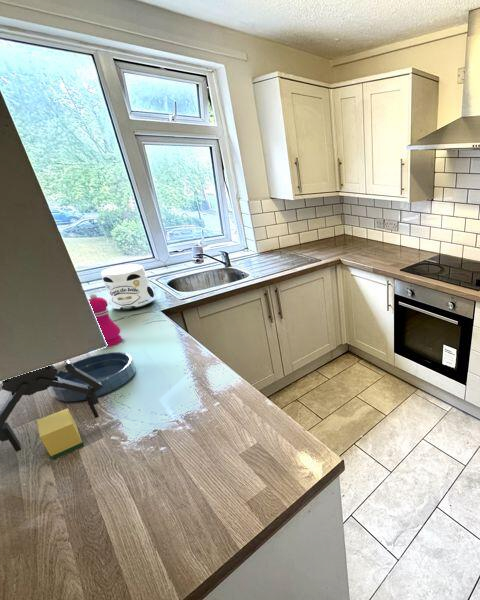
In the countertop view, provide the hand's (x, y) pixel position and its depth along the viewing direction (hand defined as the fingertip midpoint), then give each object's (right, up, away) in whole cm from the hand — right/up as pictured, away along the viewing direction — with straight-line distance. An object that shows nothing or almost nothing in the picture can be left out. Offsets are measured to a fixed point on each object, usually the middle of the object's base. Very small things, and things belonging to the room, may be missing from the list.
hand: (59, 430), depth 79 cm
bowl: (-13, +6, +24) cm, 27 cm away
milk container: (-44, +29, +77) cm, 94 cm away
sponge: (0, -4, +2) cm, 4 cm away
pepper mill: (-28, +15, +46) cm, 56 cm away
